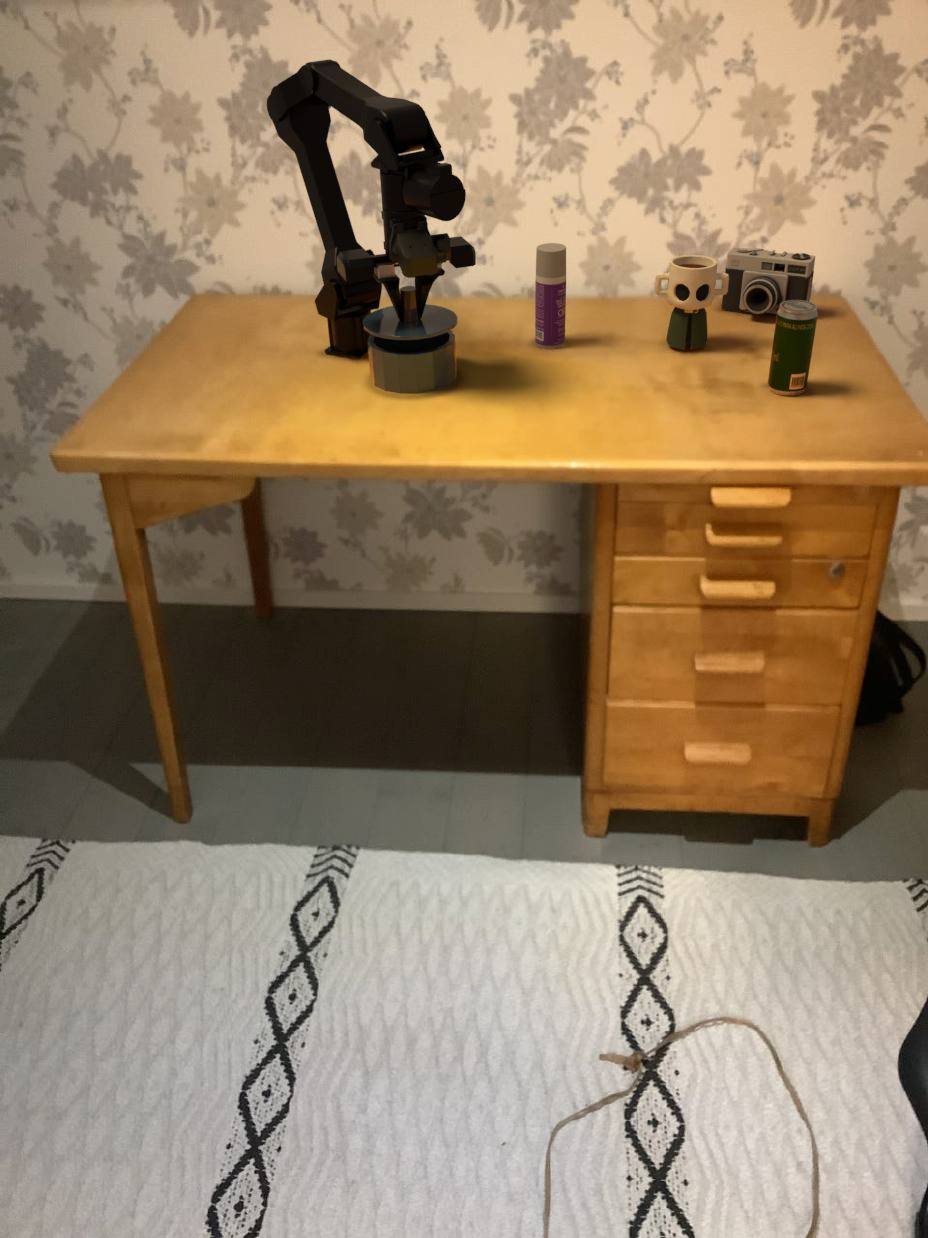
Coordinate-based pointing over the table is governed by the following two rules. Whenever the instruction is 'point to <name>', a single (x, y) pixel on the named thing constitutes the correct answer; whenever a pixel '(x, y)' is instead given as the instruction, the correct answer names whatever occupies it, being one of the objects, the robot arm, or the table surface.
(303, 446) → the table surface
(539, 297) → the container
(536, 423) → the table surface
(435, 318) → the lid
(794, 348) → the beer can
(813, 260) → the camera
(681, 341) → the character mug
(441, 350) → the canister
